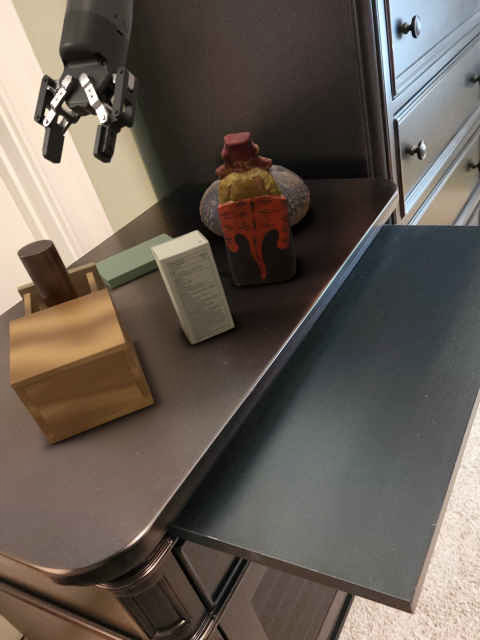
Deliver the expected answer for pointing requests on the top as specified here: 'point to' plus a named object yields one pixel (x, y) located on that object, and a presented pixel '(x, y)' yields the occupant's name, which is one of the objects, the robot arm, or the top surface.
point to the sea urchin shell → (286, 182)
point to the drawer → (82, 277)
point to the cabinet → (76, 366)
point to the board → (130, 263)
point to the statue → (253, 215)
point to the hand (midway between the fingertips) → (75, 160)
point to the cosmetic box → (194, 286)
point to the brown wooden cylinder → (48, 272)
